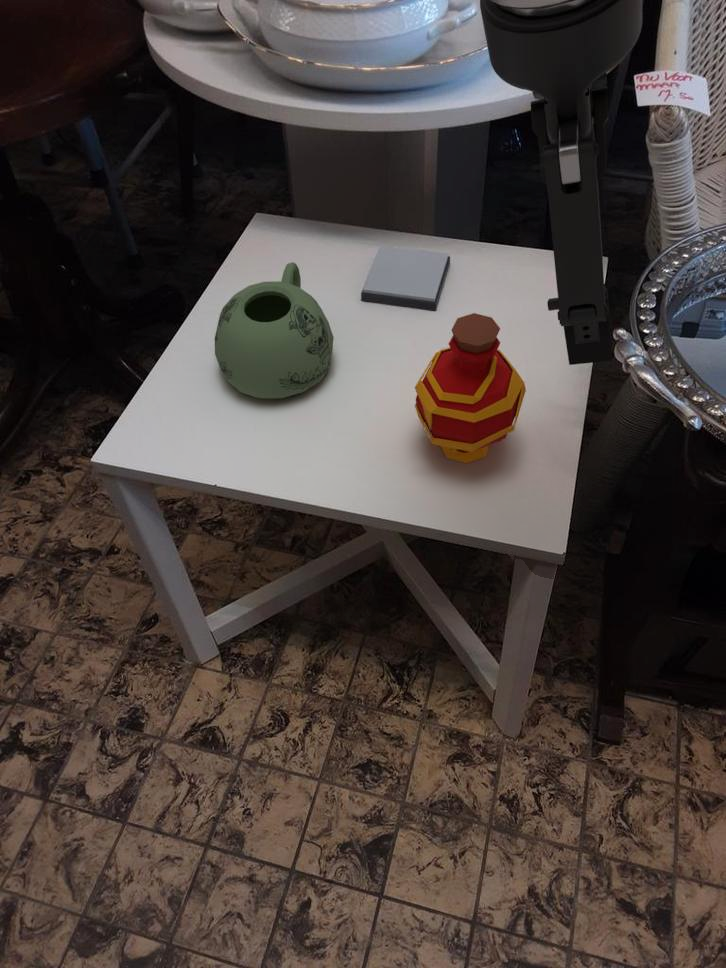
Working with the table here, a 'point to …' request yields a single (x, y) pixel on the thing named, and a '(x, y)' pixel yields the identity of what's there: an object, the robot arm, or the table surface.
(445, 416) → the potion bottle
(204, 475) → the table surface
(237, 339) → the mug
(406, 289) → the scale
